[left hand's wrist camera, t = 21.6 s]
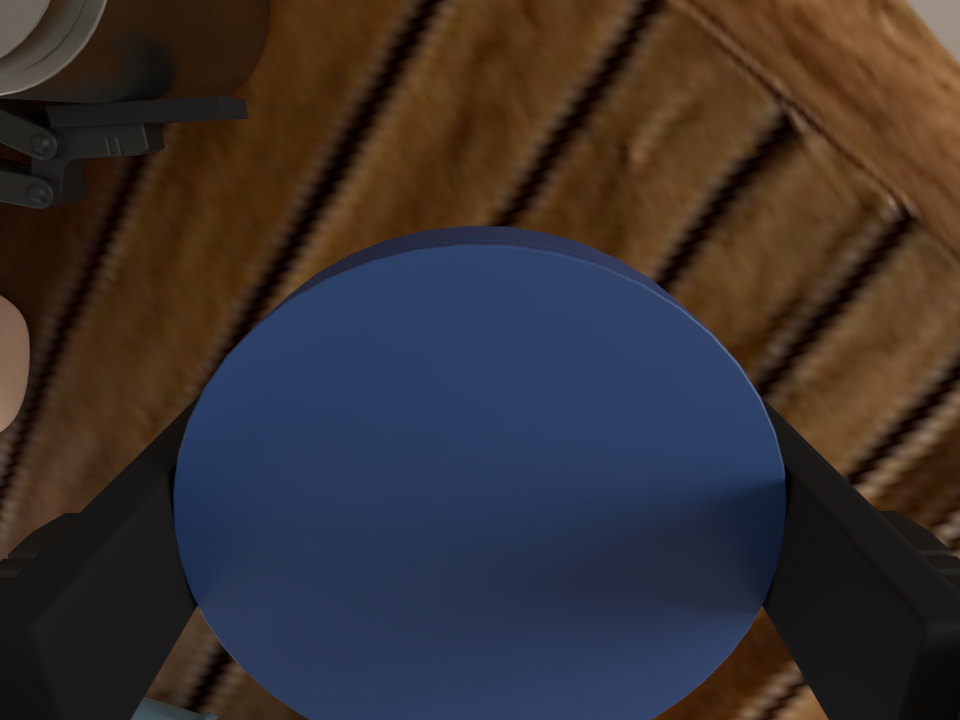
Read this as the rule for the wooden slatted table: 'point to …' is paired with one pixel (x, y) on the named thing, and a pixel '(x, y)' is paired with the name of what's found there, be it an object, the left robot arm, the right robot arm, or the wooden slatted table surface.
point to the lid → (479, 488)
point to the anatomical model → (12, 361)
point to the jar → (128, 48)
